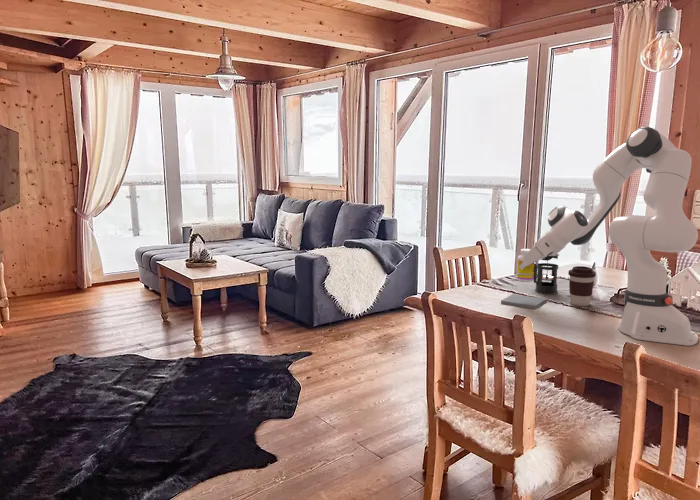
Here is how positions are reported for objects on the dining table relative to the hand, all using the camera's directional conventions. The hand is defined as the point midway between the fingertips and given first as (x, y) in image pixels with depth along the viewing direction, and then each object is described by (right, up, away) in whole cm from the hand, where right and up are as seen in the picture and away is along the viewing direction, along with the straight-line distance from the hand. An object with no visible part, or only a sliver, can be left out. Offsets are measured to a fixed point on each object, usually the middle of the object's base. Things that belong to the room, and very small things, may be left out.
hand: (524, 266), depth 204 cm
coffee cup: (+22, -15, -2) cm, 27 cm away
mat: (0, -15, +2) cm, 15 cm away
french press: (+16, -12, +20) cm, 28 cm away
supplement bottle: (+1, -6, +1) cm, 6 cm away
